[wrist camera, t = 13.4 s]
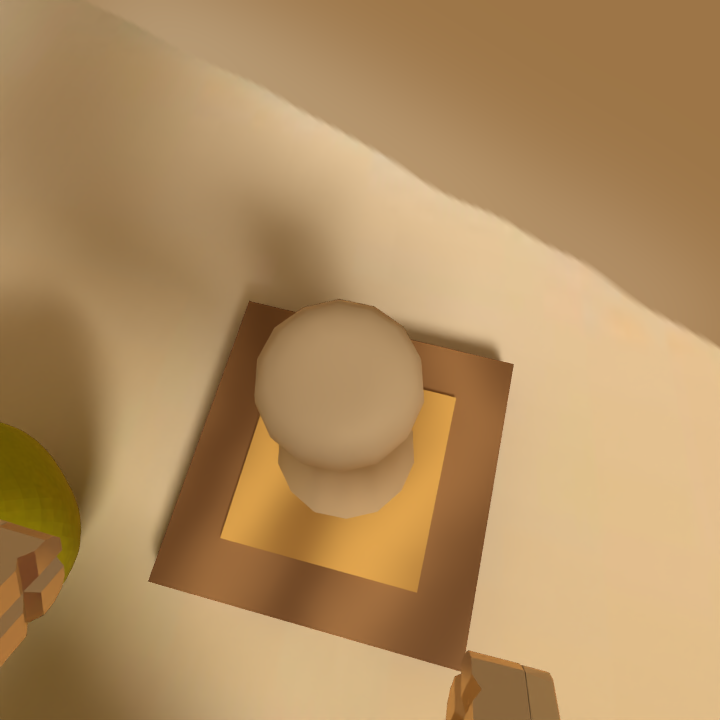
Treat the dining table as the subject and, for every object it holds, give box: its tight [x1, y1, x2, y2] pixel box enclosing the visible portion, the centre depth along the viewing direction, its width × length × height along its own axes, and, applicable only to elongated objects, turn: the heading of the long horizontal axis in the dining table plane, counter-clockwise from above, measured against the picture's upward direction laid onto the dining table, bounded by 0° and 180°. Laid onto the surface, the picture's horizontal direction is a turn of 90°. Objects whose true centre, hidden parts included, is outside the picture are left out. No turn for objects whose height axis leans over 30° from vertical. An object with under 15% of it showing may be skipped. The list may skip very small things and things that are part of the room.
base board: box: [148, 301, 514, 671], centre depth 25 cm, size 14×14×2 cm
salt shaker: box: [254, 299, 424, 519], centre depth 18 cm, size 6×6×13 cm
